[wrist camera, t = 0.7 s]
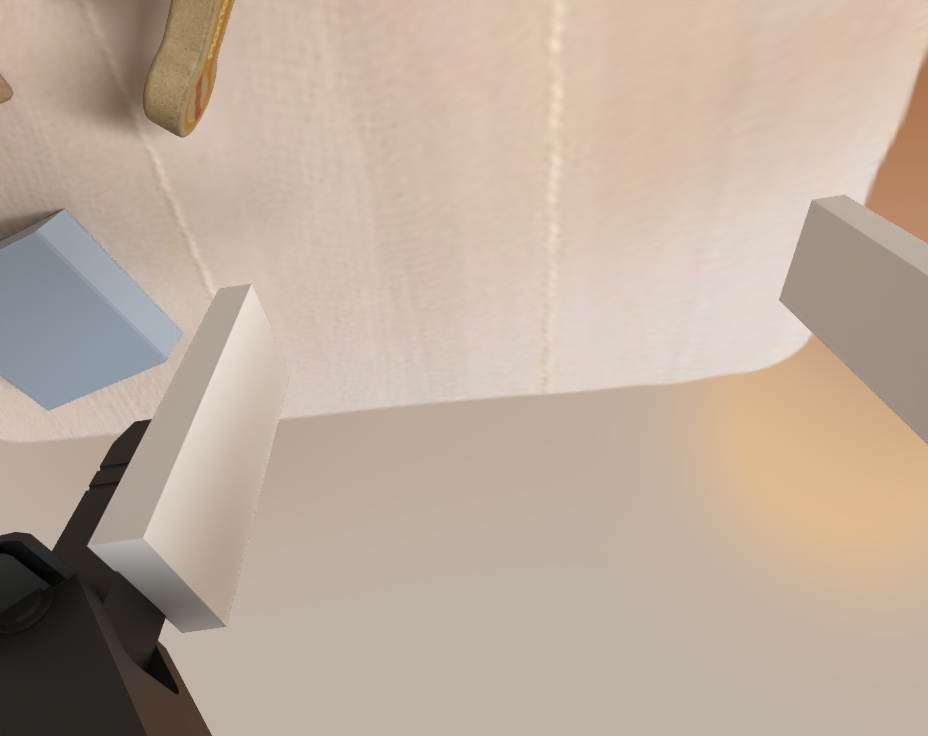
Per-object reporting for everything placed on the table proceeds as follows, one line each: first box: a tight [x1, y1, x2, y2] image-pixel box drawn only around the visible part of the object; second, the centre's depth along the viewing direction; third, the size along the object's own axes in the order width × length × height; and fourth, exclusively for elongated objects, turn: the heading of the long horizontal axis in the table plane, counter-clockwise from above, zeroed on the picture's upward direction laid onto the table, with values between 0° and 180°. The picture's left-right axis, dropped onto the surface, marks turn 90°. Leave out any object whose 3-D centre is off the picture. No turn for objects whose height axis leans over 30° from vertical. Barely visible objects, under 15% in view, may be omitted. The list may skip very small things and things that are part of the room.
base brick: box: [0, 209, 183, 411], centre depth 40 cm, size 12×12×4 cm
